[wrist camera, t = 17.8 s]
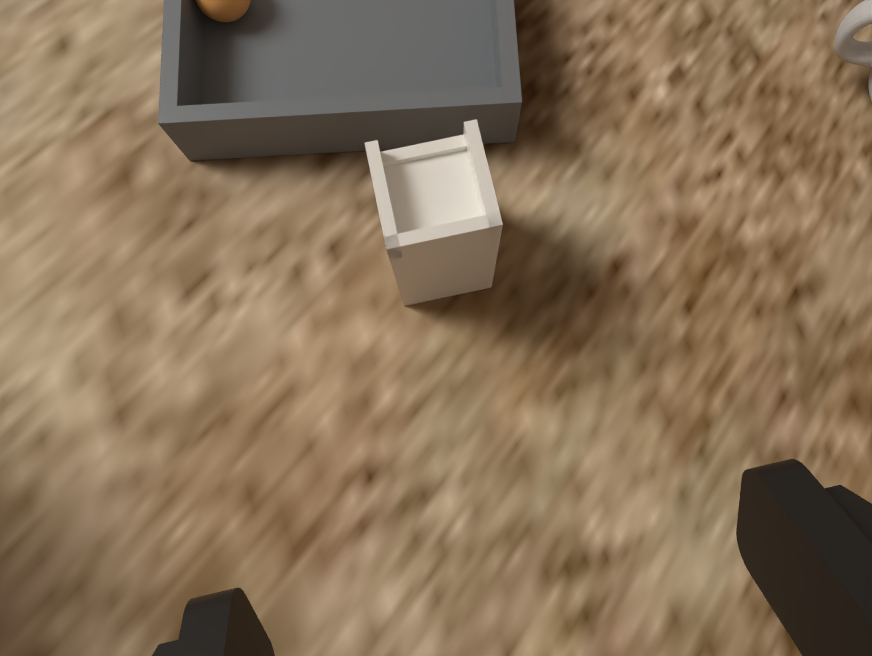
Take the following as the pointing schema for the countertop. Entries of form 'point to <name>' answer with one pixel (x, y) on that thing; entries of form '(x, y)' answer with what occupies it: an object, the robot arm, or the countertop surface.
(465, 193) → the open white crate
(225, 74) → the tray
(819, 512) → the robot arm
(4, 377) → the countertop surface
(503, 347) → the countertop surface
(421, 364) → the countertop surface
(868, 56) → the cup
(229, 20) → the ball
